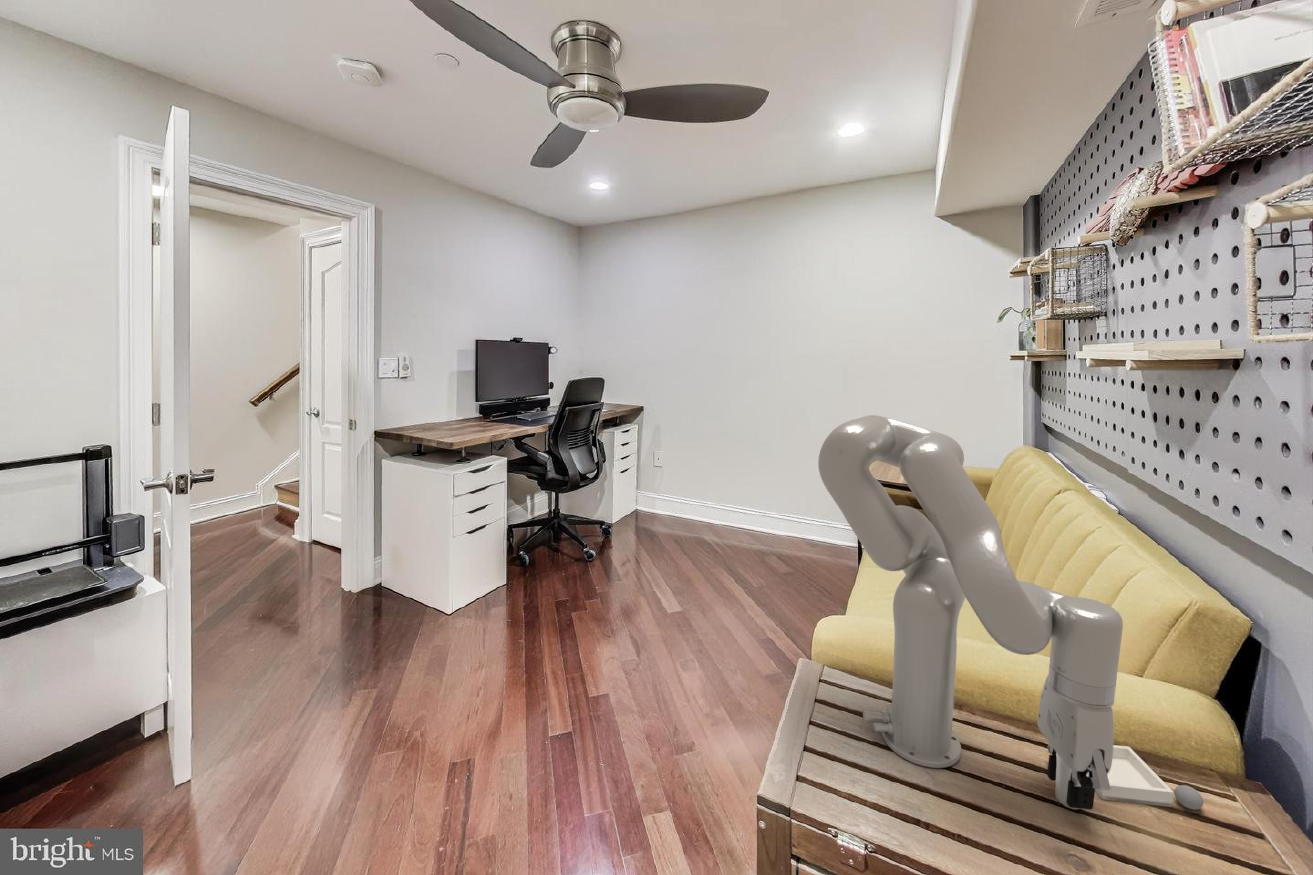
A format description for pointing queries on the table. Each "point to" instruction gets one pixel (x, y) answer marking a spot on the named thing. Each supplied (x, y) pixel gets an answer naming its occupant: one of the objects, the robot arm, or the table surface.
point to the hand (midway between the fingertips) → (1069, 791)
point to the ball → (1188, 797)
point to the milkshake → (1064, 780)
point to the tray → (1134, 781)
